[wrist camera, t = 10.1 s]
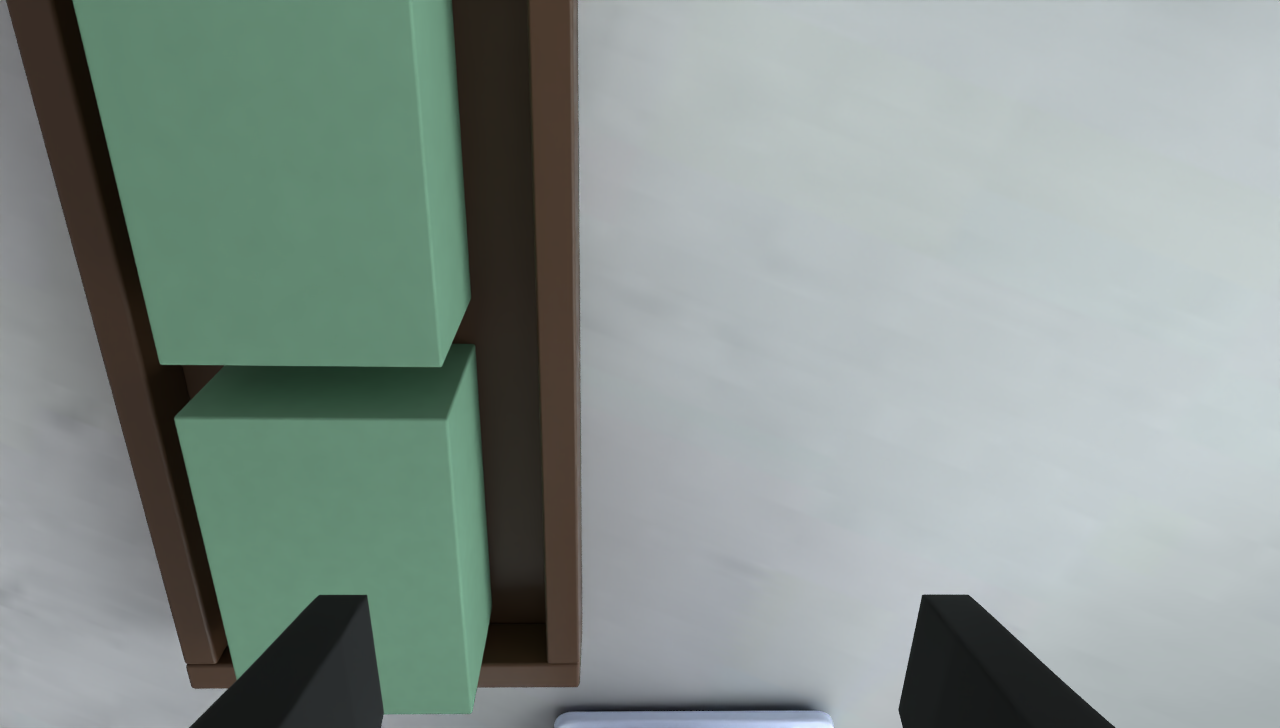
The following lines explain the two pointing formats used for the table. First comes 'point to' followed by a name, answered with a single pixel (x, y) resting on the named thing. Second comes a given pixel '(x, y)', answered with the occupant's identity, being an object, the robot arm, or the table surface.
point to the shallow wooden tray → (494, 322)
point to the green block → (349, 512)
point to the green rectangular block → (287, 175)
